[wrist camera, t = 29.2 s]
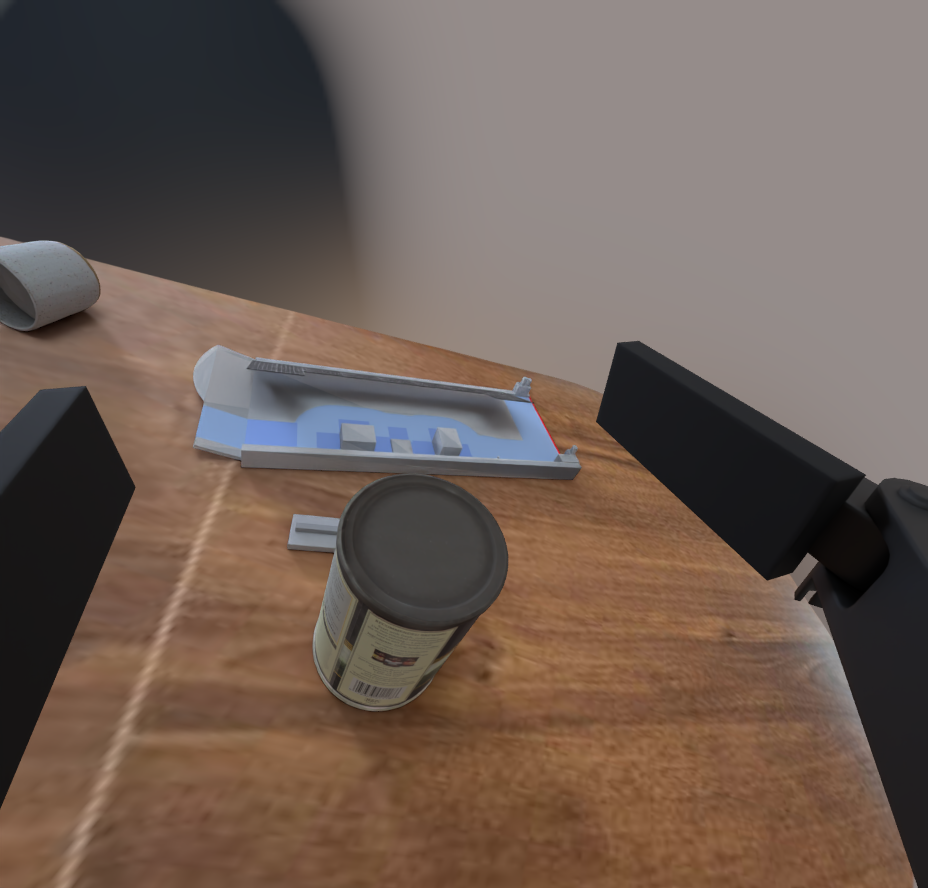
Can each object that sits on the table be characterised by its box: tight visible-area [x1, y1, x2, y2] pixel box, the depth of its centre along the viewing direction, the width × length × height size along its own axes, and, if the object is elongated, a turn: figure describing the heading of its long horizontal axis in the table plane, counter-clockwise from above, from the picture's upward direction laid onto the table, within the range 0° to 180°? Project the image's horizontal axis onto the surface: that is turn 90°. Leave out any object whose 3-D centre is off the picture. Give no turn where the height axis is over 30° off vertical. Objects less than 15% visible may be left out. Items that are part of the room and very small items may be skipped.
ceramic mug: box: [0, 241, 100, 331], centre depth 45 cm, size 11×8×8 cm
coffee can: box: [313, 474, 508, 711], centre depth 30 cm, size 10×10×14 cm
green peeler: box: [287, 514, 340, 553], centre depth 40 cm, size 16×3×2 cm, turn 97°
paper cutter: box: [193, 345, 581, 480], centre depth 52 cm, size 18×45×6 cm, turn 105°
